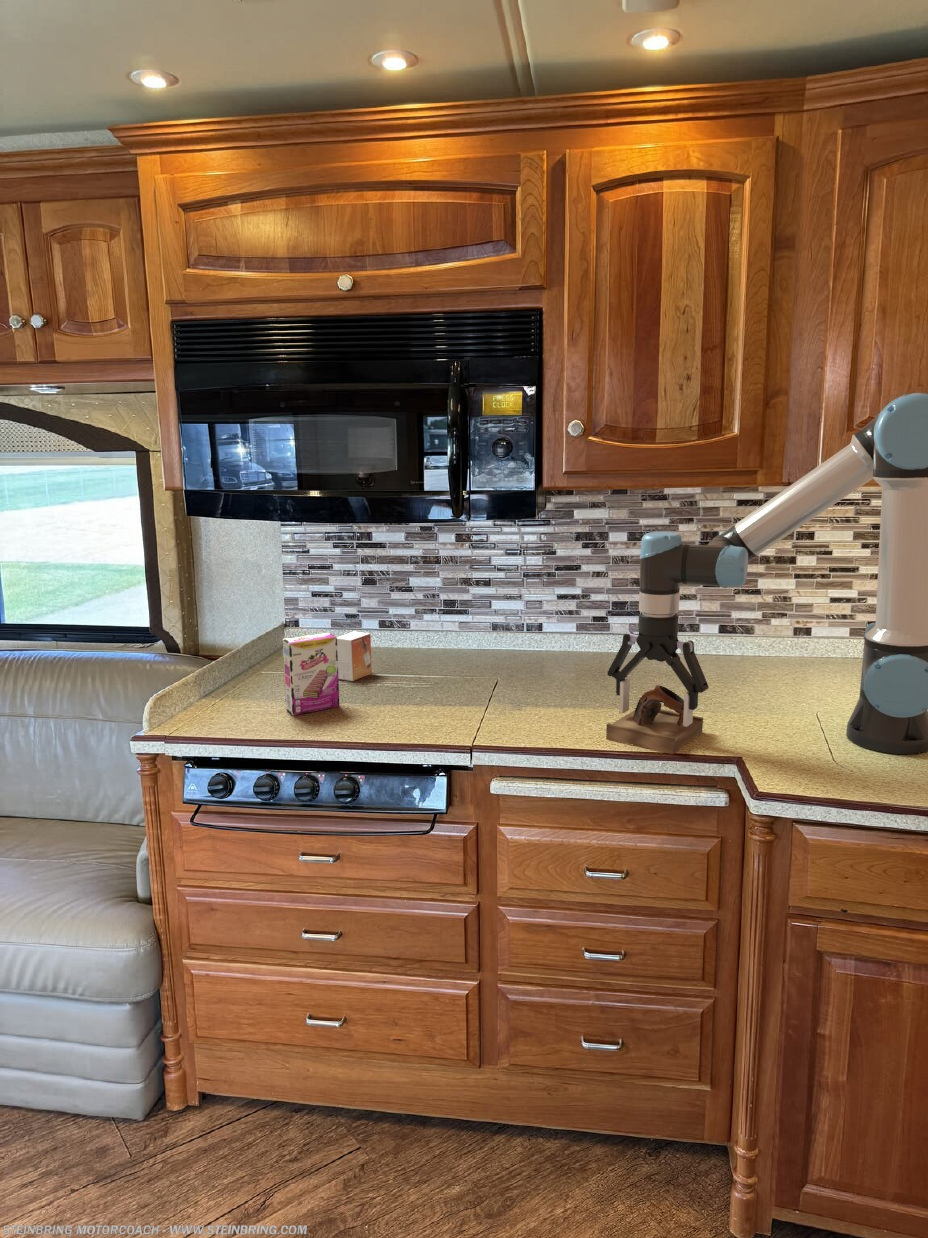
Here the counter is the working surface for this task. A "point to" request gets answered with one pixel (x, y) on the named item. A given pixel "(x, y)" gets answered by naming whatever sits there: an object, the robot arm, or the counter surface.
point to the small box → (354, 655)
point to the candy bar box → (311, 673)
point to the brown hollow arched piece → (657, 705)
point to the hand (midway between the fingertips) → (655, 718)
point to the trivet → (655, 731)
